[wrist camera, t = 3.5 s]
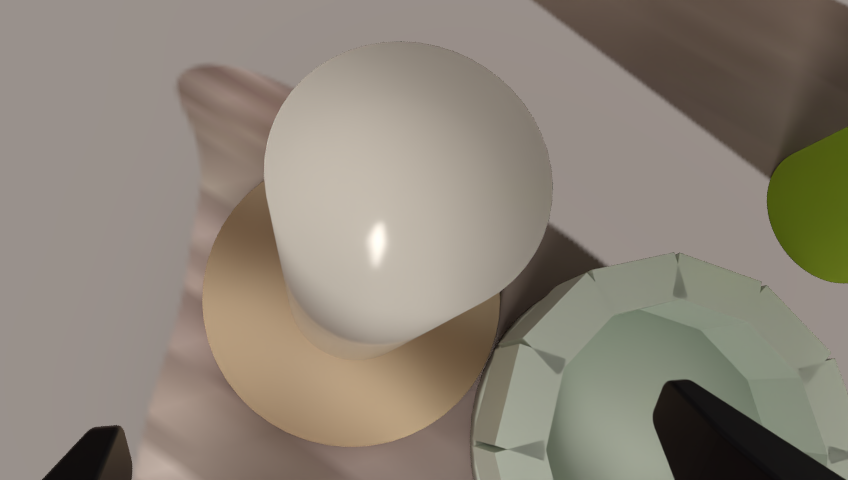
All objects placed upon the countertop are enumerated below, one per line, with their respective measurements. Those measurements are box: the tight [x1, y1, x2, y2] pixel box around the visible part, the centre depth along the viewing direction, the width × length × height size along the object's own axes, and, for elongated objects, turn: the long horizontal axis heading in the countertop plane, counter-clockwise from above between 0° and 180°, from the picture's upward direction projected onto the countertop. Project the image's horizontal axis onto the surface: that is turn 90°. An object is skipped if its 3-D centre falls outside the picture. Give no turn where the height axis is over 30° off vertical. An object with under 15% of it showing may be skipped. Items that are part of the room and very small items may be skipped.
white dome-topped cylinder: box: [264, 41, 553, 360], centre depth 15 cm, size 5×5×12 cm
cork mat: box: [202, 181, 500, 447], centre depth 21 cm, size 10×10×1 cm
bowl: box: [470, 253, 848, 480], centre depth 20 cm, size 12×12×4 cm
